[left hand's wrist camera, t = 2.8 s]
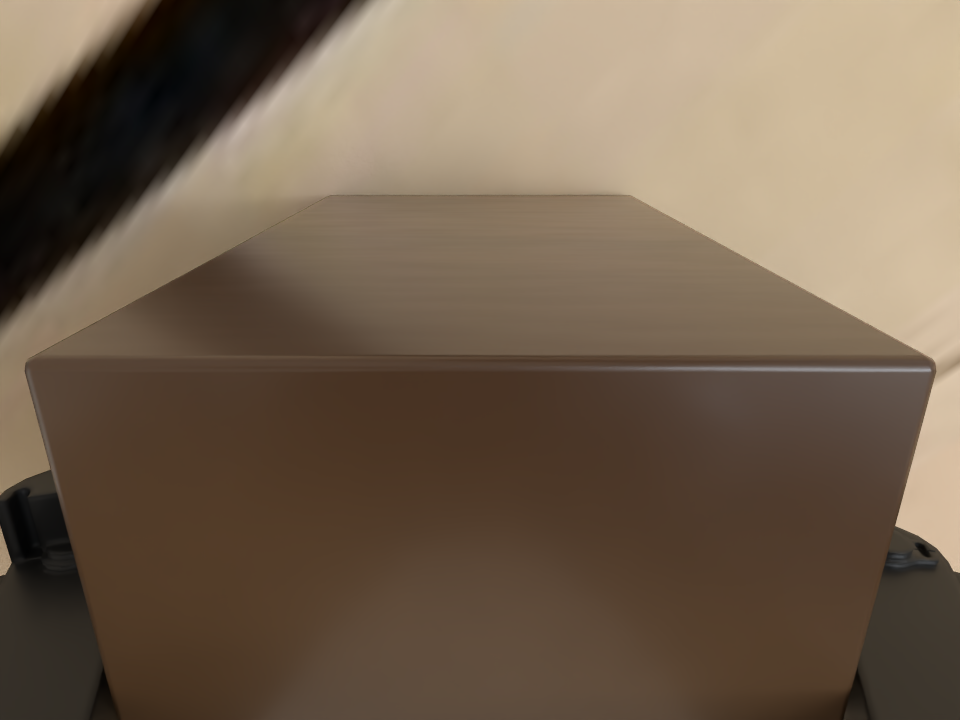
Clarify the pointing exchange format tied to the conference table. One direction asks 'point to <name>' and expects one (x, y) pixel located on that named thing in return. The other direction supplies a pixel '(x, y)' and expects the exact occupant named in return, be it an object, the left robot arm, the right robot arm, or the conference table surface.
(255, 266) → the box
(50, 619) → the left robot arm
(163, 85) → the conference table surface
